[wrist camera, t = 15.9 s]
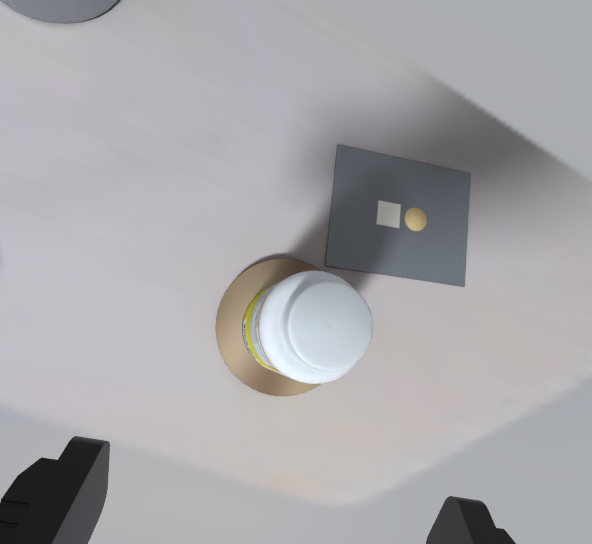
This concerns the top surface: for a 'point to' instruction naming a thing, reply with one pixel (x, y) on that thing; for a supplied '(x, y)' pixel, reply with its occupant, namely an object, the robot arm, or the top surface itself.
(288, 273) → the cork coaster
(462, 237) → the gray board
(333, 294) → the supplement bottle
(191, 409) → the top surface
